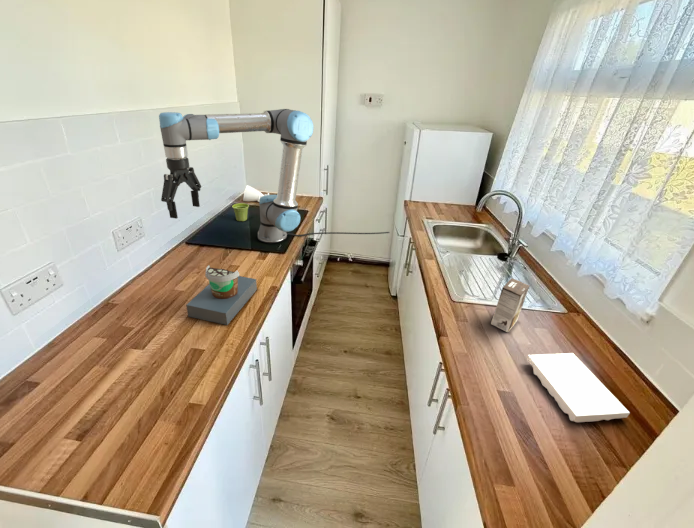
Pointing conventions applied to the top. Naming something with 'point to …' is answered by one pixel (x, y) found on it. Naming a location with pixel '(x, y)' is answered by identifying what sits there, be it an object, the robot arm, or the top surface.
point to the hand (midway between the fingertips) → (185, 211)
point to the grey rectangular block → (221, 303)
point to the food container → (222, 282)
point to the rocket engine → (252, 194)
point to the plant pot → (241, 211)
